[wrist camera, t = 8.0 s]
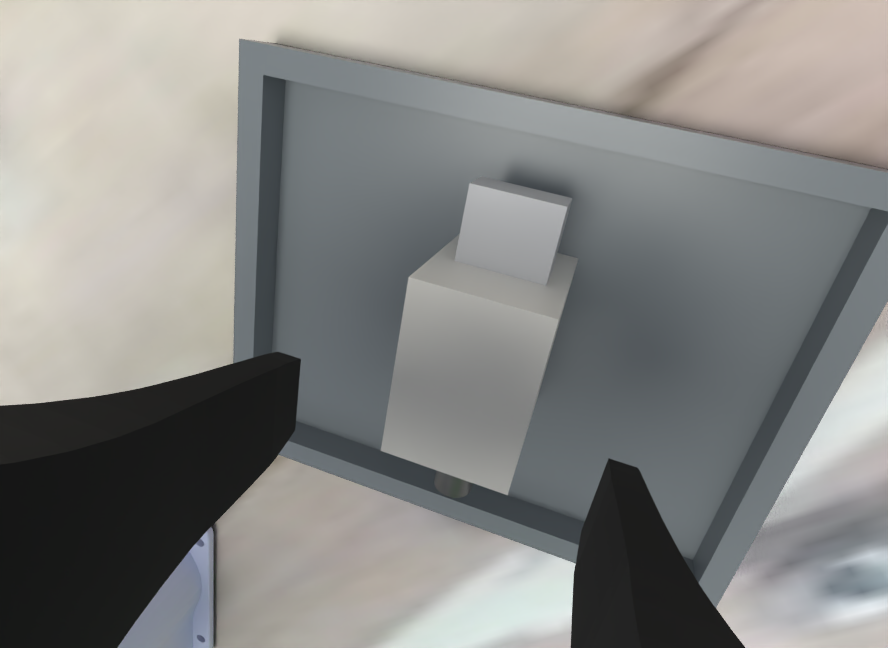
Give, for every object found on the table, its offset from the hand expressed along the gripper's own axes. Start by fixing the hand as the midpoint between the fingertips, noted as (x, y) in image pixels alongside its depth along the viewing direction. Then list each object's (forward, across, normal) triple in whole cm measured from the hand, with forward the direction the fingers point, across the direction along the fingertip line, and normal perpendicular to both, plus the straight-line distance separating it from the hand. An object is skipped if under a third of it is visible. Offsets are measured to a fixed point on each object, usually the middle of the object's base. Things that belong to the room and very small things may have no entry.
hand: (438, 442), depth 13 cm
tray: (+7, 0, 0) cm, 7 cm away
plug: (+6, 0, -1) cm, 6 cm away
